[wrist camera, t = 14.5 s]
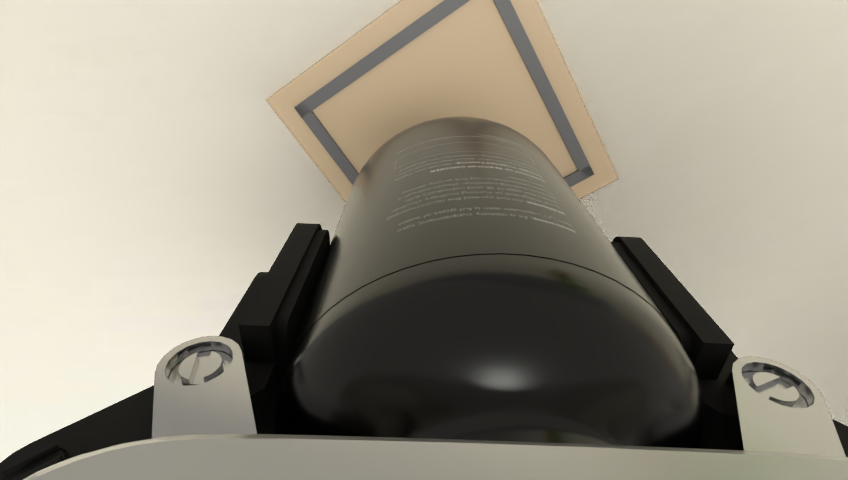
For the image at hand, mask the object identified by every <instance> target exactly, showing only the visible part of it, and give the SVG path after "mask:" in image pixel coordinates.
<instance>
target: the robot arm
mask: <svg viewBox="0 0 848 480" xmlns="http://www.w3.org/2000/svg"><path fill="white" fill-rule="evenodd" d="M610 243H611V244H612V245H613V247H614V248H615V249H616V251H617V252H618V254H619V255H620V256H621V258H622V259H623V260H624V262H625V263H626V265H627V266H628V267H629V269H630V270H631V272H632V273H633V274H634V276H635V277H636V278H637V280H638V281H639V283H640V284H641V285H642V287H643V288H644V289H645V291H646V292H647V294H648V295H649V296H650V298H651V299H652V301H653V302H654V303H655V305H656V306H657V307H658V309H659V310H660V312H661V313H662V314H663V316H664V317H665V319H666V320H667V321H668V323H669V324H670V326H671V327H672V329H673V330H674V332H675V334H676V335H677V337H678V338H679V340H680V342H681V343H682V345H683V347H684V349H685V350H686V352H687V354H688V356H689V357H690V359H691V361H692V363H693V365H694V368H695V370H696V373H697V375H698V378H699V381H700V384H701V389H702V393H703V398H704V405H705V423H706V433H705V444H704V449H696V448H671V447H647V446H623V445H598V444H571V443H544V442H516V441H487V440H458V439H427V438H393V437H360V436H327V435H285V434H274V414H275V408H276V402H277V398H278V394H279V390H280V387H281V384H282V379H283V376H284V373H285V370H286V366H287V363H288V361H289V358H290V355H291V352H292V349H293V346H294V344H295V341H296V338H297V335H298V333H299V330H300V327H301V324H302V322H303V319H304V316H305V313H306V311H307V308H308V305H309V303H310V300H311V297H312V294H313V292H314V289H315V286H316V283H317V281H318V278H319V275H320V272H321V270H322V267H323V264H324V261H325V259H326V256H327V253H328V250H329V248H330V237H329V231H328V230H322V228H321V225H320V224H303V223H297V224H296V225H295V227H294V229H293V231H292V232H291V234H290V236H289V238H288V239H287V241H286V243H285V245H284V246H283V248H282V250H281V251H280V253H279V255H278V257H277V258H276V260H275V262H274V264H273V265H272V267H271V269H270V271H269V272H260V273H258V274H257V275H256V277H255V278H254V280H253V281H252V283H251V285H250V286H249V288H248V290H247V291H246V293H245V294H244V296H243V298H242V299H241V301H240V303H239V304H238V306H237V307H236V309H235V311H234V312H233V314H232V316H231V317H230V319H229V321H228V322H227V324H226V325H225V327H224V329H223V330H222V332H221V334H220V335H219V336H207V337H200V338H196V339H193V340H190V341H187V342H184V343H182V344H181V345H179V346H177V347H175V348H173V349H172V350H171V351H170V352H168V353H167V354H166V355H165V356H164V357H163V358H162V359H161V361H160V362H159V363H158V365H157V368H156V371H155V380H154V386H152V387H150V388H147V389H145V390H143V391H141V392H139V393H137V394H135V395H132V396H130V397H128V398H126V399H124V400H122V401H120V402H118V403H115V404H113V405H111V406H109V407H107V408H105V409H103V410H101V411H98V412H96V413H94V414H92V415H90V416H88V417H86V418H83V419H81V420H79V421H77V422H75V423H73V424H71V425H69V426H66V427H64V428H62V429H60V430H58V431H56V432H54V433H51V434H49V435H47V436H45V437H43V438H41V439H39V440H37V441H34V442H32V443H30V444H28V445H27V446H25V447H23V448H21V449H20V450H18V451H16V452H14V453H13V454H11V455H10V456H9V457H7V458H6V459H5V460H4V461H2V462H1V463H0V480H848V427H847V426H845V425H843V424H841V423H839V422H837V421H835V420H833V419H832V418H831V415H830V412H829V410H828V407H827V404H826V402H825V399H824V397H823V395H822V394H821V392H820V390H819V389H818V388H817V387H816V386H815V385H814V384H813V383H812V382H811V381H810V380H808V379H807V378H806V377H804V376H803V375H801V374H800V373H799V372H797V371H795V370H793V369H791V368H789V367H787V366H785V365H783V364H781V363H778V362H775V361H772V360H769V359H765V358H760V357H743V358H739V359H738V358H737V357H736V356H735V355H734V353H733V352H732V351H731V350H732V348H733V346H734V343H733V342H732V341H731V340H730V339H729V337H728V336H727V335H726V334H725V333H724V332H723V331H722V330H721V328H720V327H719V326H718V325H717V324H716V323H715V322H714V320H713V319H712V318H711V317H710V316H709V315H708V314H707V312H706V311H705V310H704V309H703V308H702V307H701V306H700V304H699V303H698V302H697V301H696V300H695V299H694V298H693V296H692V295H691V294H690V293H689V292H688V291H687V290H686V288H685V287H684V286H683V285H682V284H681V283H680V282H679V281H678V279H677V278H676V277H675V276H674V275H673V274H672V273H671V271H670V270H669V269H668V268H667V267H666V266H665V265H664V263H663V262H662V261H661V260H660V259H659V258H658V257H657V255H656V254H655V253H654V252H653V251H652V250H651V249H650V247H649V246H648V245H647V244H646V243H645V242H644V241H643V239H641V238H636V237H615V238H614V240H613V241H612V242H610Z"/></svg>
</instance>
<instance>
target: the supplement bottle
mask: <svg viewBox="0 0 848 480" xmlns="http://www.w3.org/2000/svg"><path fill="white" fill-rule="evenodd" d="M705 433H706V423H705V405H704V398H703V393H702V389H701V384H700V381H699V378H698V375H697V373H696V370H695V368H694V365H693V363H692V361H691V359H690V357H689V356H688V354H687V352H686V350H685V349H684V347H683V345H682V343H681V342H680V340H679V338H678V337H677V335H676V334H675V332H674V330H673V329H672V327H671V326H670V324H669V323H668V321H667V320H666V319H665V317H664V316H663V314H662V313H661V312H660V310H659V309H658V307H657V306H656V305H655V303H654V302H653V301H652V299H651V298H650V296H649V295H648V294H647V292H646V291H645V289H644V288H643V287H642V285H641V284H640V283H639V281H638V280H637V278H636V277H635V276H634V274H633V273H632V272H631V270H630V269H629V267H628V266H627V265H626V263H625V262H624V260H623V259H622V258H621V256H620V255H619V254H618V252H617V251H616V249H615V248H614V247H613V245H612V244H611V243H610V241H609V240H608V238H607V237H606V236H605V234H604V233H603V231H602V230H601V229H600V227H599V226H598V225H597V223H596V222H595V220H594V219H593V218H592V216H591V215H590V214H589V212H588V211H587V209H586V208H585V207H584V205H583V204H582V203H581V201H580V200H579V198H578V197H577V196H576V194H575V193H574V191H573V190H572V189H571V187H570V186H569V185H568V183H567V182H566V180H565V179H564V178H563V176H562V175H561V174H560V172H559V171H558V170H557V168H556V167H555V166H554V165H553V163H552V162H551V161H550V160H549V158H548V157H547V156H546V155H545V154H544V152H543V151H542V150H541V149H540V148H539V147H538V146H537V145H535V144H534V143H533V142H532V141H531V140H529V139H528V138H527V137H525V136H524V135H522V134H521V133H519V132H518V131H516V130H514V129H512V128H510V127H508V126H505V125H503V124H500V123H498V122H494V121H491V120H487V119H482V118H476V117H464V116H459V117H445V118H438V119H433V120H429V121H425V122H422V123H419V124H416V125H414V126H412V127H410V128H407V129H405V130H403V131H402V132H400V133H398V134H396V135H395V136H393V137H392V138H391V139H389V140H388V141H386V142H385V143H384V144H383V145H382V146H381V147H379V148H378V149H377V150H376V151H375V152H374V154H373V155H372V156H371V157H370V158H369V159H368V161H367V162H366V163H365V165H364V166H363V168H362V169H361V171H360V173H359V174H358V176H357V178H356V180H355V182H354V184H353V187H352V189H351V191H350V194H349V196H348V199H347V201H346V204H345V207H344V209H343V212H342V215H341V217H340V220H339V223H338V226H337V228H336V231H335V234H334V237H333V239H332V242H331V245H330V248H329V250H328V253H327V256H326V259H325V261H324V264H323V267H322V270H321V272H320V275H319V278H318V281H317V283H316V286H315V289H314V292H313V294H312V297H311V300H310V303H309V305H308V308H307V311H306V313H305V316H304V319H303V322H302V324H301V327H300V330H299V333H298V335H297V338H296V341H295V344H294V346H293V349H292V352H291V355H290V358H289V361H288V363H287V366H286V370H285V373H284V376H283V379H282V384H281V387H280V390H279V394H278V398H277V402H276V408H275V414H274V434H285V435H327V436H360V437H393V438H427V439H458V440H487V441H516V442H544V443H571V444H598V445H623V446H647V447H671V448H696V449H704V444H705Z"/></svg>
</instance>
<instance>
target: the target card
mask: <svg viewBox="0 0 848 480" xmlns="http://www.w3.org/2000/svg"><path fill="white" fill-rule="evenodd" d="M266 101H267V102H268V104H269V105H270V106H271V107H272V109H273V110H274V111H275V113H276V114H277V115H278V116H279V118H280V119H281V120H282V122H283V123H284V124H285V125H286V127H287V128H288V129H289V131H290V132H291V133H292V134H293V136H294V137H295V138H296V140H297V141H298V142H299V143H300V145H301V146H302V147H303V149H304V150H305V151H306V152H307V154H308V155H309V156H310V158H311V159H312V160H313V161H314V163H315V164H316V165H317V166H318V168H319V169H320V170H321V172H322V173H323V174H324V175H325V177H326V178H327V179H328V181H329V182H330V183H331V184H332V186H333V187H334V188H335V190H336V191H337V192H338V193H339V195H340V196H341V197H342V199H343V200H344V201H345V202H346V201H347V199H348V196H349V194H350V191H351V189H352V187H353V184H354V182H355V180H356V178H357V176H358V174H359V173H360V171H361V169H362V168H363V166H364V165H365V163H366V162H367V161H368V159H369V158H370V157H371V156H372V155H373V154H374V152H375V151H376V150H377V149H378V148H379V147H381V146H382V145H383V144H384V143H385V142H386V141H388V140H389V139H391V138H392V137H393V136H395V135H396V134H398V133H400V132H402V131H403V130H405V129H407V128H410V127H412V126H414V125H416V124H419V123H422V122H425V121H429V120H433V119H438V118H445V117H459V116H464V117H476V118H482V119H487V120H491V121H494V122H498V123H500V124H503V125H505V126H508V127H510V128H512V129H514V130H516V131H518V132H519V133H521V134H522V135H524V136H525V137H527V138H528V139H529V140H531V141H532V142H533V143H534V144H535V145H537V146H538V147H539V148H540V149H541V150H542V151H543V152H544V154H545V155H546V156H547V157H548V158H549V160H550V161H551V162H552V163H553V165H554V166H555V167H556V168H557V170H558V171H559V172H560V174H561V175H562V176H563V178H564V179H565V180H566V182H567V183H568V185H569V186H570V187H571V189H572V190H573V191H574V193H575V194H576V196H577V197H578V198H579V199H581V198H583V197H585V196H587V195H589V194H590V193H592V192H594V191H596V190H598V189H600V188H602V187H604V186H606V185H608V184H609V183H611V182H613V181H615V180H617V179H618V176H617V174H616V172H615V170H614V168H613V165H612V163H611V161H610V159H609V157H608V155H607V152H606V150H605V148H604V146H603V144H602V142H601V139H600V137H599V135H598V133H597V131H596V129H595V126H594V124H593V122H592V120H591V118H590V116H589V113H588V111H587V109H586V107H585V105H584V102H583V100H582V98H581V96H580V94H579V92H578V89H577V87H576V85H575V83H574V81H573V79H572V76H571V74H570V72H569V70H568V68H567V66H566V63H565V61H564V59H563V57H562V55H561V52H560V50H559V48H558V46H557V44H556V42H555V39H554V37H553V35H552V33H551V31H550V29H549V26H548V24H547V22H546V20H545V18H544V16H543V13H542V11H541V9H540V7H539V5H538V2H537V0H402V1H400V2H399V3H398V4H396V5H395V6H394V7H392V8H391V9H390V10H388V11H387V12H385V13H384V14H383V15H381V16H380V17H379V18H377V19H376V20H375V21H373V22H372V23H370V24H369V25H368V26H366V27H365V28H364V29H362V30H361V31H360V32H358V33H357V34H355V35H354V36H353V37H351V38H350V39H349V40H347V41H346V42H345V43H343V44H342V45H340V46H339V47H338V48H336V49H335V50H334V51H332V52H331V53H330V54H328V55H327V56H325V57H324V58H323V59H321V60H320V61H319V62H317V63H316V64H315V65H313V66H312V67H310V68H309V69H308V70H306V71H305V72H304V73H302V74H301V75H300V76H298V77H297V78H295V79H294V80H293V81H291V82H290V83H289V84H287V85H286V86H285V87H283V88H282V89H280V90H279V91H278V92H276V93H275V94H274V95H272V96H271V97H270V98H268V99H267V100H266Z"/></svg>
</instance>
